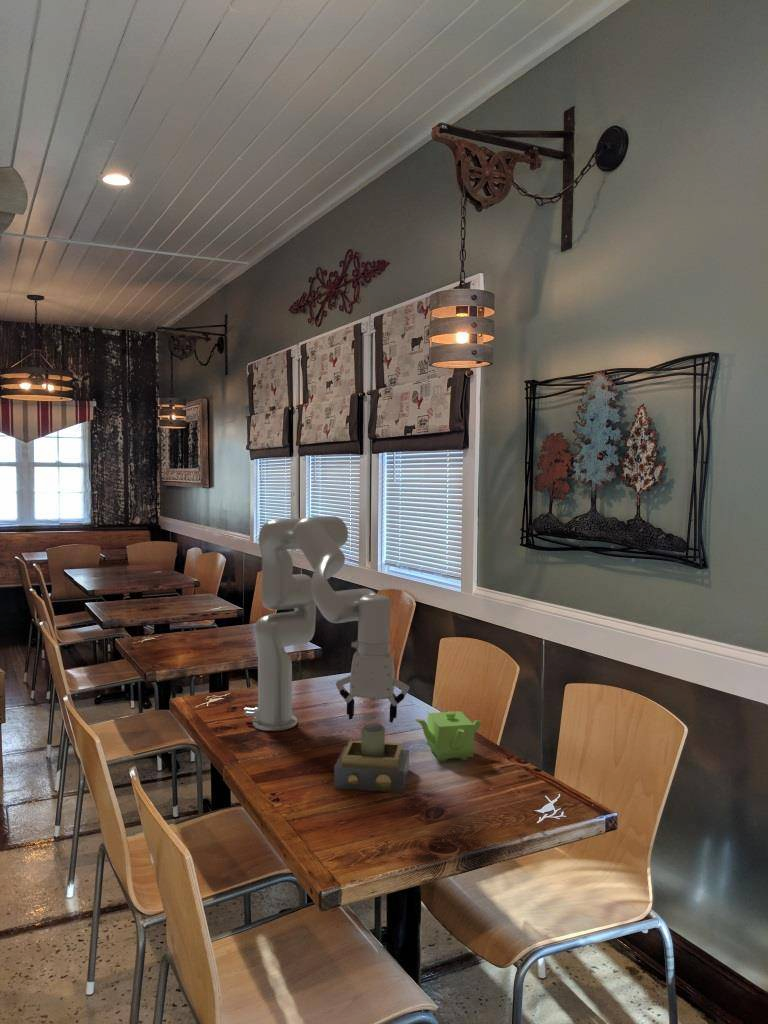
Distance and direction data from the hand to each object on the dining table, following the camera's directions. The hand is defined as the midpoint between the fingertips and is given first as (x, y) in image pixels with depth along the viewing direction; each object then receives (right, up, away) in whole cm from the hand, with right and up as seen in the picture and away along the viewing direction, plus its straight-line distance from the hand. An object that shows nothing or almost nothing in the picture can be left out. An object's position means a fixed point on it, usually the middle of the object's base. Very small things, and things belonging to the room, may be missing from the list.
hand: (371, 718), depth 178 cm
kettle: (+19, -14, +15) cm, 28 cm away
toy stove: (0, -14, 0) cm, 14 cm away
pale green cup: (0, -9, 0) cm, 9 cm away
